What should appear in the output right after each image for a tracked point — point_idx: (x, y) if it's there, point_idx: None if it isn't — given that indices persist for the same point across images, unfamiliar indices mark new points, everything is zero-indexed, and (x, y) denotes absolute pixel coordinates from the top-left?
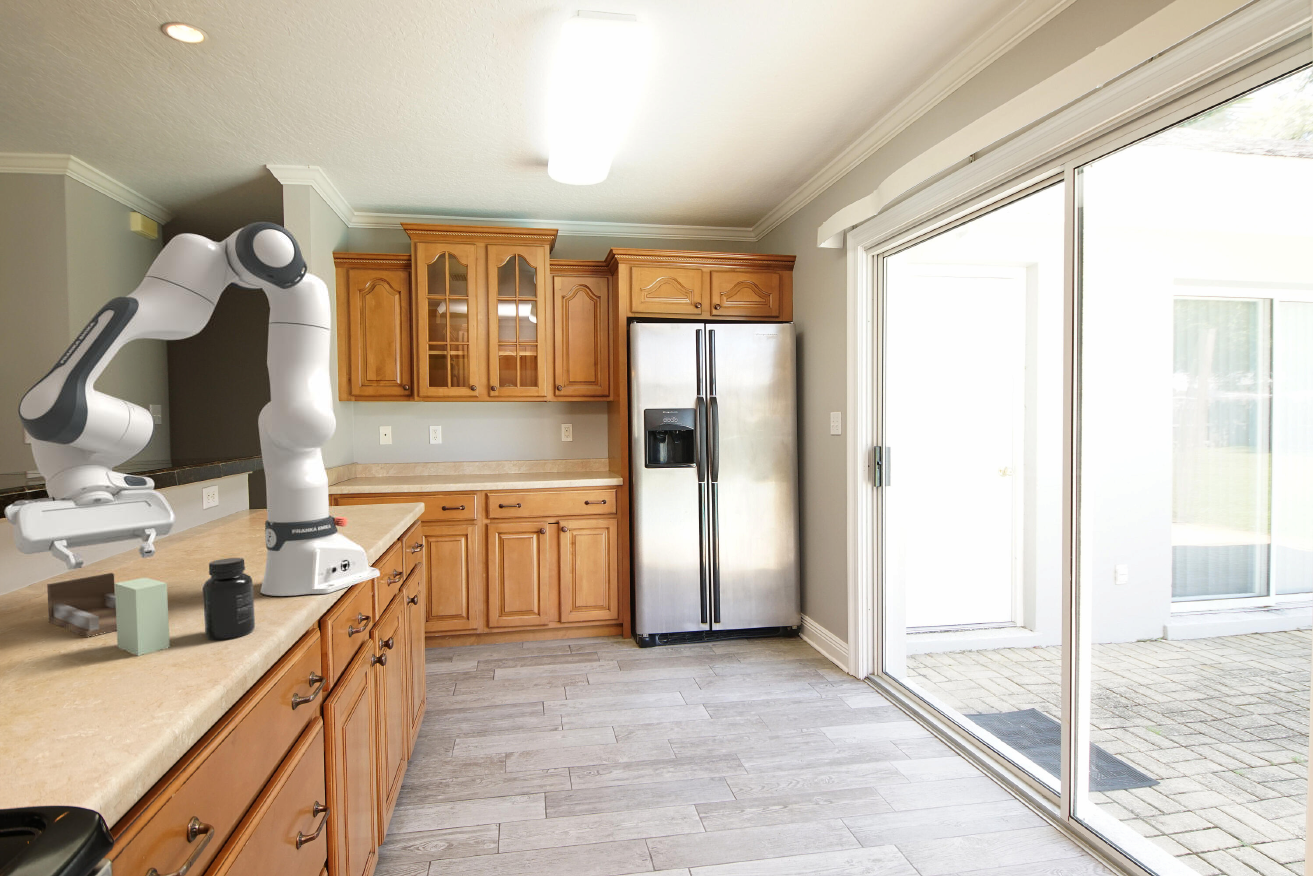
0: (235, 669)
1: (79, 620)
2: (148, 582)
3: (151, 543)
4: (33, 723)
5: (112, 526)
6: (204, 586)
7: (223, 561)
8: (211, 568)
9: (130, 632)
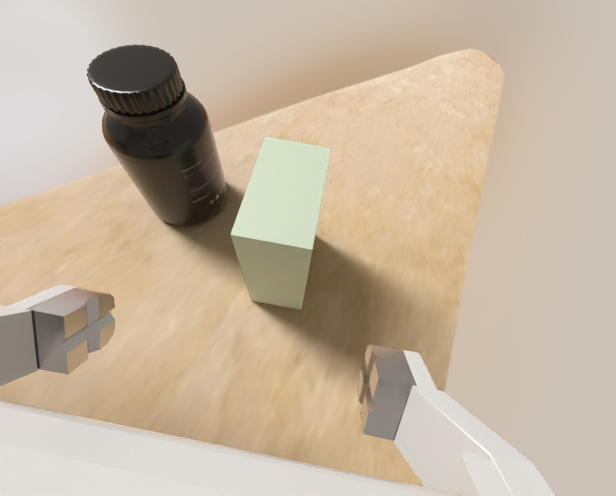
0: (300, 104)
1: None
2: (272, 178)
3: (20, 303)
4: (471, 155)
5: (38, 453)
6: (200, 132)
7: (138, 69)
8: (177, 85)
9: (314, 239)
